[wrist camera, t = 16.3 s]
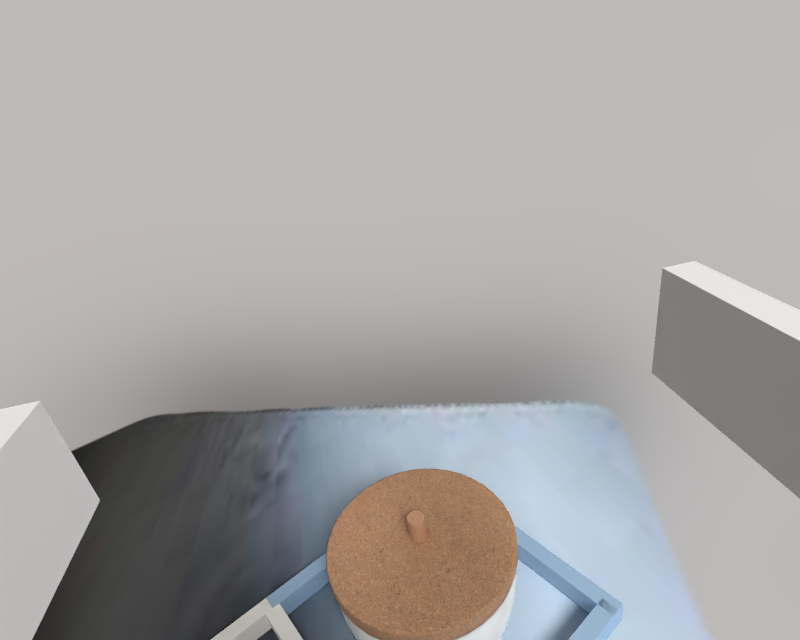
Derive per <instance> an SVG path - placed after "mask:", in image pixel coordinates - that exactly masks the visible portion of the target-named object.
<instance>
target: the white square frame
mask: <svg viewBox="0 0 800 640" xmlns="http://www.w3.org/2000/svg"><path fill="white" fill-rule="evenodd" d="M271 628H272V629H273V631H274V632H275V634H276V636H277V637H278V639H279V640H303V639H302V637H301V636H300V634H299V632H298V631H297V629H296V628H295V626H294V625H293V623H292V622H291V620H290V619H289V617H288V616H287V614H286V613H285V611H284V609H283V608H282V606H281V605H280V603H279V604H278V605H276V606H275V607H274V608H272V607H271V605H270V604H269V602H268V601H267V599H266V598H265V599H264V600H262V601H261V602H260V603H258V604H257V605H256V606H254V607H253V608H252V609H251V610H249V611H248V612H247V613H245V614H244V615H243V616H241V617H240V618H239V619H237V620H236V621H235V622H233V623H232V624H231V625H229V626H228V627H227V628H225V629H224V630H223V631H221V632H220V633H219V634H217V635H216V636H215V637H213V638H212V639H211V640H257V639H258V638H260V637H261V636H262V635H263V634H265V633H266V632H267V631H268V630H270V629H271Z"/></svg>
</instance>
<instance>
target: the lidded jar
mask: <svg viewBox="0 0 800 640" xmlns="http://www.w3.org/2000/svg"><path fill="white" fill-rule="evenodd" d="M517 561H518V551H517V536H516V532H515V528H514V524H513V521H512V519H511V517H510V515H509V512H508V511H507V509H506V508H505V506H504V505H503V503H502V502H501V501H500V500H499V499H498V498H497V496H496V495H495V494H494V493H493V492H491V491H490V490H489V489H488V488H486V487H485V486H484V485H482V484H481V483H479V482H477V481H475V480H474V479H472V478H469V477H467V476H465V475H462V474H460V473H456V472H452V471H447V470H440V469H417V470H409V471H405V472H401V473H397V474H394V475H391V476H388V477H386V478H384V479H382V480H379V481H377V482H375V483H374V484H372V485H371V486H369V487H367V488H366V489H364V490H363V491H362V492H361V493H359V494H358V495H357V496H356V497H355V498H354V499H353V500H352V501H351V502H350V503H349V504H348V505H347V506H346V507H345V509H344V510H343V512H342V513H341V514H340V516H339V517H338V519H337V521H336V523H335V525H334V526H333V528H332V531H331V534H330V537H329V540H328V544H327V550H326V570H327V575H328V580H329V584H330V586H331V589H332V591H333V594H334V596H335V599H336V601H337V603H338V605H339V606H340V608H341V610H342V613H343V615H344V618H345V620H346V623H347V625H348V626H349V628H350V630H351V631H352V633H353V634H354V636H355V638H356V639H357V640H500V639H501V637H502V635H503V633H504V631H505V629H506V627H507V624H508V621H509V618H510V615H511V612H512V608H513V603H514V597H515V590H516V568H517Z"/></svg>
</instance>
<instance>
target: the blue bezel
mask: <svg viewBox="0 0 800 640" xmlns="http://www.w3.org/2000/svg"><path fill="white" fill-rule="evenodd" d="M514 528H515V532H516V536H517V551H518V559H520V560H521V561H522V562H523V563H525V564H526V565H527V566H529V567H530V568H531V569H533V570H534V571H535V572H536V573H538V574H539V575H540V576H542V577H543V578H544V579H545V580H547V581H548V582H549V583H551V584H552V585H553V586H554V587H556V588H557V589H558V590H560V591H561V592H562V593H563V594H565V595H566V596H567V597H569V598H570V599H571V600H572V601H574V602H575V603H576V604H578V605H579V606H580V607H581V608H583V609H584V610H585V611H587V612H588V613H589V615H588V616H587V617H586V618H585V620H584V621H583V622H582V623H581V625H580V626H579V627H578V628H577V629H576V631H575V632H574V633H573V634H572V636H571V637H570V638H569V639H568V640H606V639H607V637H608V636H609V635H610V633H611V632H612V631H613V630H614V628H615V627H616V626H617V624H618V623H619V622H620V620H621V616H622V606H623V604H622V603H621V602H619V601H618V600H616V599H615V598H614V597H612V596H611V595H610V594H608V593H607V592H605V591H604V590H603V589H601V588H600V587H598V586H597V585H596V584H594V583H593V582H592V581H590V580H589V579H587V578H586V577H585V576H583V575H582V574H580V573H579V572H578V571H576V570H575V569H574V568H572V567H571V566H569V565H568V564H567V563H565V562H564V561H562V560H561V559H560V558H558V557H557V556H556V555H554V554H553V553H551V552H550V551H549V550H547V549H546V548H544V547H543V546H542V545H540V544H539V543H538V542H536V541H535V540H533V539H532V538H531V537H529V536H528V535H526V534H525V533H524V532H522V531H521V530H520V529H518V528H517V527H515V526H514ZM328 583H329V580H328V575H327V570H326V553H325V554H323V555H322V556H321V557H319V558H318V559H317V560H315V561H314V562H313V563H312V564H310V565H309V566H308V567H306V568H305V569H304V570H302V571H301V572H300V573H298V574H297V575H296V576H294V577H293V578H292V579H290V580H289V581H288V582H286V583H285V584H284V585H282V586H281V587H280V588H278V589H277V590H276V591H274V592H273V593H272V594H270V595H269V596H268V597H266V599H267V601H268V602H269V604H270V605H271V607H272V608H274V607H275V606H276V605H278V604H279V603H280V605H281V606H282V608H283V609H284V611H285V613H286V614H287V615H289V614H290V613H291V612H292V611H294V610H295V609H296V608H297V607H299V606H300V605H301V604H302V603H304V602H305V601H306V600H307V599H309V598H310V597H311V596H312V595H314V594H315V593H316V592H318V591H319V590H320V589H321V588H323V587H324V586H325V585H326V584H328Z"/></svg>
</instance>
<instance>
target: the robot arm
mask: <svg viewBox="0 0 800 640" xmlns="http://www.w3.org/2000/svg"><path fill="white" fill-rule="evenodd" d="M652 373H653V374H654V375H655V376H656V377H658V378H659V379H660V380H661V381H662V382H664V383H665V384H666V385H667V386H668V387H669V388H670V389H672V390H673V391H674V392H675V393H676V394H678V395H679V396H680V397H681V398H682V399H683V400H685V401H686V402H687V403H688V404H689V405H690V406H692V407H693V408H694V409H695V410H696V411H698V412H699V413H700V414H701V415H702V416H703V417H705V418H706V419H707V420H708V421H709V422H710V423H712V424H713V425H714V426H715V427H716V428H718V429H719V430H720V431H721V432H722V433H723V434H725V435H726V436H727V437H728V438H729V439H731V440H732V441H733V442H734V443H735V444H736V445H738V446H739V447H740V448H741V449H742V450H743V451H745V452H746V453H747V454H748V455H749V456H751V457H752V458H753V459H754V460H755V461H756V462H757V463H759V464H760V465H761V466H762V467H763V468H765V469H766V470H767V471H768V472H769V473H771V474H772V475H773V476H774V477H775V478H776V479H777V480H779V481H780V482H781V483H782V484H784V485H785V486H786V487H787V488H788V489H789V490H790V491H792V492H793V493H794V494H795V495H796V496H797V497H799V498H800V310H798V309H796V308H794V307H792V306H790V305H787V304H785V303H783V302H781V301H779V300H777V299H775V298H772V297H770V296H768V295H766V294H764V293H762V292H760V291H758V290H755V289H753V288H751V287H749V286H747V285H745V284H743V283H741V282H738V281H736V280H734V279H732V278H730V277H728V276H726V275H723V274H721V273H719V272H717V271H715V270H713V269H711V268H709V267H706V266H704V265H702V264H700V263H698V262H696V261H693V262H688V263H684V264H679V265H674V266H670V267H665V268H663V269H662V278H661V288H660V298H659V307H658V317H657V327H656V337H655V348H654V356H653V366H652ZM99 501H100V499H99V498H98V496H97V494H96V493H95V491H94V489H93V488H92V486H91V484H90V483H89V481H88V479H87V478H86V476H85V474H84V473H83V471H82V469H81V468H80V466H79V464H78V462H77V461H76V459H75V457H74V456H73V454H72V452H71V451H70V449H69V448H68V446H67V444H66V442H65V441H64V439H63V437H62V436H61V434H60V432H59V431H58V429H57V427H56V425H55V424H54V422H53V421H52V419H51V417H50V415H49V414H48V412H47V410H46V409H45V407H44V406H43V404H42V402H41V401H36V402H31V403H26V404H21V405H17V406H12V407H7V408H3V409H0V640H32V639H33V636H34V634H35V632H36V630H37V628H38V626H39V624H40V622H41V620H42V618H43V616H44V614H45V612H46V610H47V608H48V606H49V604H50V602H51V600H52V598H53V596H54V594H55V591H56V589H57V587H58V585H59V583H60V581H61V579H62V577H63V575H64V573H65V571H66V569H67V567H68V565H69V563H70V561H71V559H72V557H73V555H74V553H75V551H76V549H77V546H78V544H79V542H80V540H81V538H82V536H83V534H84V532H85V530H86V528H87V526H88V524H89V522H90V520H91V518H92V516H93V514H94V512H95V510H96V508H97V506H98V503H99Z"/></svg>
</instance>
